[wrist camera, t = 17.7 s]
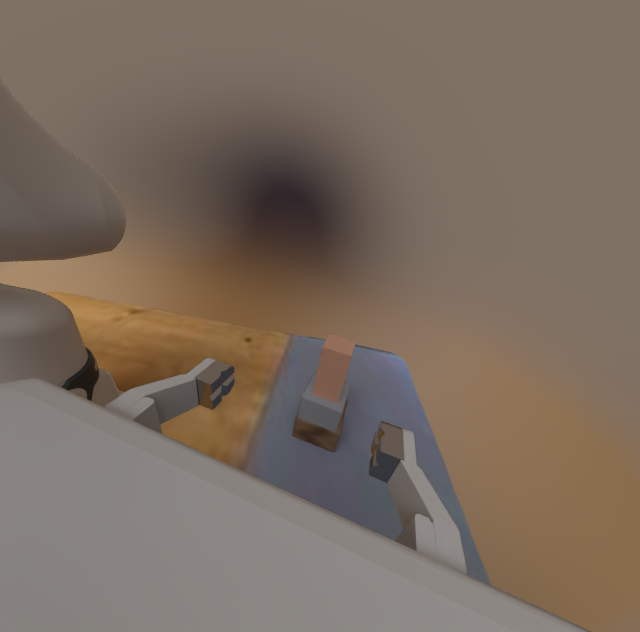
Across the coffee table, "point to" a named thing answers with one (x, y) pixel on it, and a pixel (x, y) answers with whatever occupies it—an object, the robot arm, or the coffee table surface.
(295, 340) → the coffee table surface
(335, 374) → the terracotta block
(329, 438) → the tower base
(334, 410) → the tower top
